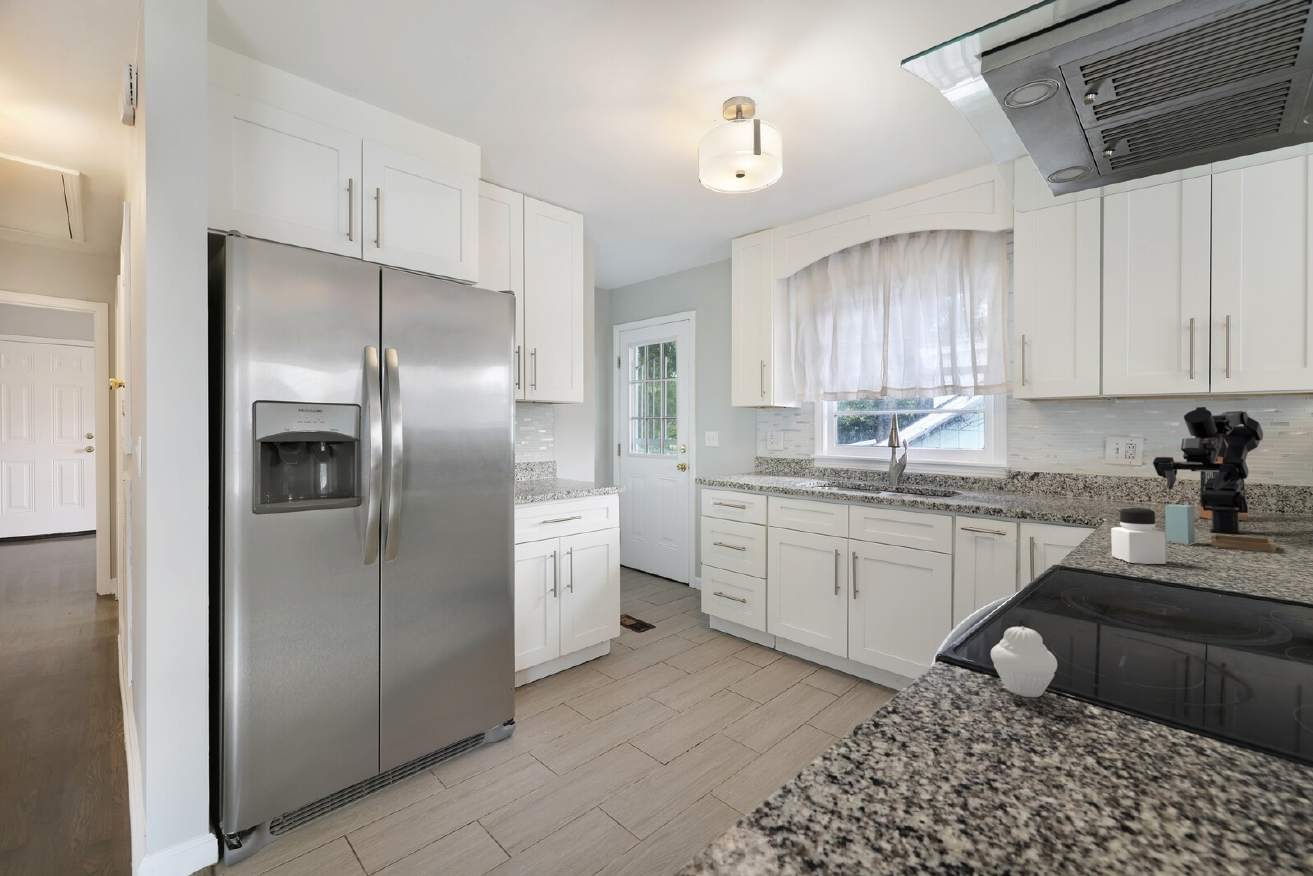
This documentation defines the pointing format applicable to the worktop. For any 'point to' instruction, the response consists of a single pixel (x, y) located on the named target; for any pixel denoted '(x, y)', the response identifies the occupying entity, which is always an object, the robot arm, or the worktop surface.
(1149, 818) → the worktop surface
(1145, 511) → the medicine bottle
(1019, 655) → the muffin
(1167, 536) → the post
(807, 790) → the worktop surface
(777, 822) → the worktop surface
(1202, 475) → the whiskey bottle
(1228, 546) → the tray
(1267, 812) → the worktop surface
